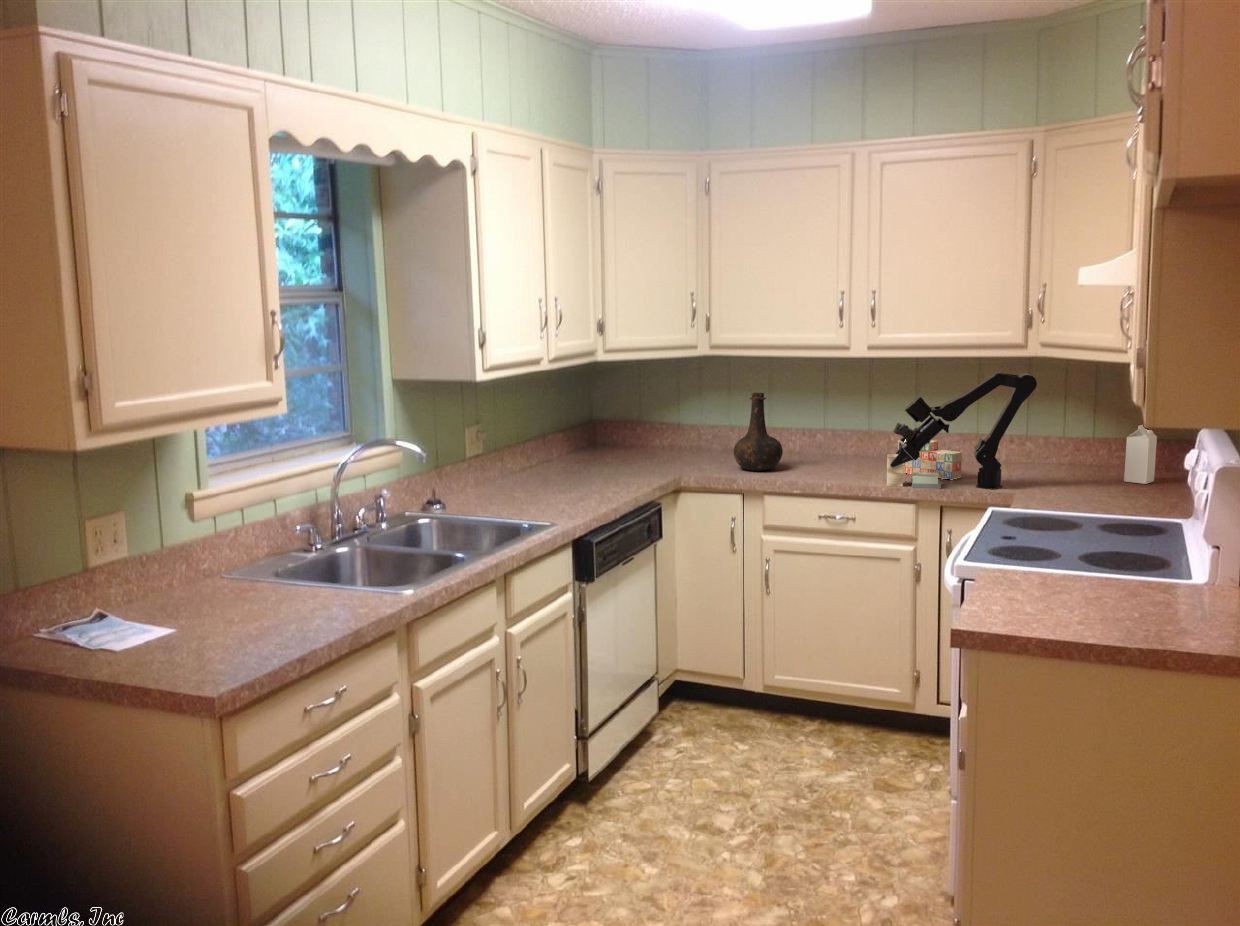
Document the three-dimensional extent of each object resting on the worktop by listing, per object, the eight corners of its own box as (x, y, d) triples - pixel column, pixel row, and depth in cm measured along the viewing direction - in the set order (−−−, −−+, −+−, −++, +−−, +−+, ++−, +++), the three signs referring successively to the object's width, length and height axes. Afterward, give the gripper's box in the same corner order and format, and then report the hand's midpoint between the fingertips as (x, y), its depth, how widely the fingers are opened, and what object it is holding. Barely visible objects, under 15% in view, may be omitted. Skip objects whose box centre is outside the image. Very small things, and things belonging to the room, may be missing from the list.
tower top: (938, 479, 359) (938, 473, 359) (937, 484, 351) (938, 477, 351) (913, 478, 361) (913, 472, 361) (912, 483, 354) (912, 476, 353)
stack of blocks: (961, 478, 369) (962, 443, 367) (951, 481, 365) (953, 445, 362) (906, 471, 384) (907, 437, 382) (896, 473, 380) (897, 439, 378)
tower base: (938, 485, 360) (939, 478, 360) (940, 490, 352) (941, 484, 351) (910, 484, 362) (911, 478, 362) (912, 490, 354) (912, 483, 353)
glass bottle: (760, 475, 381) (760, 396, 376) (723, 469, 394) (723, 393, 390) (792, 469, 392) (793, 392, 388) (755, 463, 406) (756, 389, 401)
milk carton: (1123, 481, 357) (1127, 425, 354) (1131, 478, 362) (1135, 422, 359) (1146, 484, 352) (1150, 426, 349) (1154, 481, 357) (1157, 424, 354)
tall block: (902, 483, 361) (902, 454, 359) (902, 486, 356) (903, 456, 354) (886, 483, 362) (887, 454, 360) (887, 486, 357) (887, 456, 355)
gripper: (907, 411, 363) (873, 443, 367) (910, 418, 345) (873, 452, 349) (931, 435, 363) (896, 466, 367) (934, 443, 345) (898, 476, 349)
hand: (890, 464), depth 358 cm, fingers closed on tall block, 5 cm apart
